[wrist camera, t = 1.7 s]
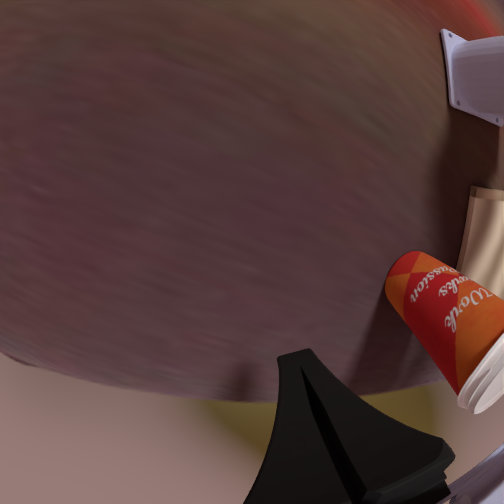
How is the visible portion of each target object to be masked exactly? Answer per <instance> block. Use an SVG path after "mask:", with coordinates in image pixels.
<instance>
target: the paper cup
mask: <svg viewBox="0 0 504 504" xmlns="http://www.w3.org/2000/svg"><path fill="white" fill-rule="evenodd" d="M385 294H386V296H387V298H388V300H389V301H390V303H391V304H392V305H393V307H394V308H395V309H396V311H397V312H398V313H399V315H400V316H401V317H402V319H403V320H404V321H405V323H406V324H407V325H408V327H409V328H410V329H411V331H412V332H413V333H414V335H415V336H416V337H417V339H418V340H419V341H420V343H421V344H422V345H423V347H424V348H425V349H426V351H427V352H428V354H429V355H430V356H431V358H432V359H433V361H434V362H435V363H436V365H437V366H438V368H439V369H440V371H441V372H442V373H443V375H444V376H445V378H446V379H447V381H448V382H449V384H450V385H451V387H452V388H453V390H454V391H455V392H456V394H457V396H458V406H459V407H461V408H467V409H468V410H469V411H470V412H471V413H473V414H478V413H481V412H482V411H484V410H485V409H487V408H489V407H490V406H491V405H492V404H494V403H495V402H496V401H497V400H498V399H499V398H500V397H501V396H502V395H503V394H504V300H502V299H501V298H499V297H498V296H496V295H495V294H493V293H492V292H490V291H489V290H487V289H486V288H484V287H482V286H481V285H479V284H478V283H476V282H474V281H473V280H471V279H470V278H468V277H466V276H465V275H463V274H461V273H460V272H458V271H456V270H455V269H453V268H451V267H449V266H448V265H446V264H444V263H442V262H441V261H439V260H437V259H435V258H433V257H431V256H430V255H428V254H425V253H423V252H421V251H411V252H408V253H406V254H404V255H403V256H401V257H400V258H399V259H398V260H397V261H396V262H395V263H394V264H393V266H392V267H391V269H390V270H389V272H388V275H387V277H386V281H385Z"/></svg>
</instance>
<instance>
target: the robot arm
mask: <svg viewBox="0 0 504 504" xmlns="http://www.w3.org/2000/svg"><path fill="white" fill-rule="evenodd" d="M441 36H442V41H443V47H444V54H445V61H446V69H447V78H448V89H449V102H450V105H451V106H452V107H453V108H456V109H459V110H462V111H464V112H467V113H469V114H472V115H474V116H477V117H479V118H482V119H484V120H486V121H489V122H491V123H493V124H495V125H497V126H500V127H502V126H503V124H504V122H503V118H504V36H498V37H491V38H484V39H478V40H473V41H466V40H464V39H463V38H461V37H459V36H457V35H455V34H454V33H452V32H450V31H448V30H446V29H442V30H441ZM457 103H458V105H457ZM277 362H278V367H279V393H278V403H277V410H276V417H275V422H274V426H273V431H272V435H271V438H270V442H269V445H268V448H267V452H266V455H265V458H264V460H263V463H262V466H261V468H260V470H259V473H258V475H257V477H256V480H255V482H254V484H253V486H252V488H251V490H250V492H249V494H248V496H247V497H246V499H245V501H244V503H243V504H443V503H445V502H446V501H448V500H449V499H451V500H450V502H449V504H504V443H503V444H502V445H501V446H500V447H499V448H497V449H496V450H495V451H494V452H493V453H491V454H490V455H489V456H488V457H487V458H485V459H484V460H483V461H482V462H480V463H479V464H478V465H476V466H475V467H474V468H472V469H471V470H470V471H468V472H467V473H466V474H464V475H463V476H461V477H460V478H459V479H457V480H456V481H454V482H453V483H451V484H450V485H448V486H447V484H446V482H445V479H446V478H447V477H446V475H445V473H444V470H445V469H446V468H447V467H448V466H449V465H450V464H451V463H452V462H453V461H454V459H455V454H454V452H453V451H452V449H451V448H450V447H449V445H448V444H447V443H446V442H445V441H444V440H443V439H442V438H440V437H436V436H433V435H430V434H427V433H424V432H421V431H418V430H416V429H414V428H411V427H409V426H407V425H405V424H403V423H401V422H399V421H396V420H395V419H393V418H391V417H389V416H387V415H385V414H384V413H382V412H380V411H379V410H377V409H375V408H374V407H372V406H371V405H369V404H368V403H367V402H365V401H364V400H362V399H361V398H360V397H358V396H357V395H356V394H355V393H353V392H352V391H351V390H350V389H349V388H347V387H346V386H345V385H344V384H343V383H342V382H341V381H340V380H339V379H337V378H336V377H335V376H334V375H333V374H332V373H331V372H330V371H329V370H328V369H327V368H326V366H325V365H324V364H323V363H322V362H321V361H320V360H319V359H318V357H317V356H316V355H315V354H314V352H313V351H312V350H311V349H309V348H308V349H304V350H300V351H297V352H293V353H289V354H285V355H281V356H279V357H278V358H277Z"/></svg>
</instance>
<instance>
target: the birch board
mask: <svg viewBox="0 0 504 504" xmlns="http://www.w3.org/2000/svg"><path fill="white" fill-rule="evenodd" d="M456 271H458V272H460V273H461V274H463V275H465V276H466V277H468V278H470V279H471V280H473V281H474V282H476V283H478V284H479V285H481V286H482V287H484V288H486V289H487V290H489V291H490V292H492V293H493V294H495V295H496V296H498V297H499V298H501V299H502V300H504V191H503V190H497V189H491V188H484V187H477V186H471V188H470V197H469V204H468V211H467V218H466V224H465V229H464V235H463V240H462V245H461V249H460V254H459V258H458V262H457V266H456Z"/></svg>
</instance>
